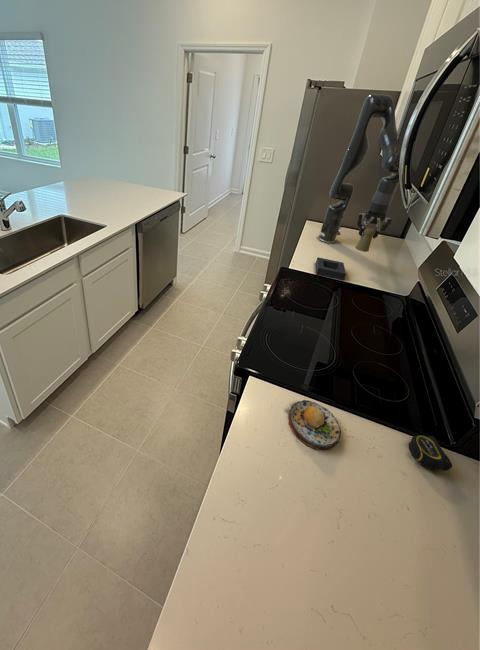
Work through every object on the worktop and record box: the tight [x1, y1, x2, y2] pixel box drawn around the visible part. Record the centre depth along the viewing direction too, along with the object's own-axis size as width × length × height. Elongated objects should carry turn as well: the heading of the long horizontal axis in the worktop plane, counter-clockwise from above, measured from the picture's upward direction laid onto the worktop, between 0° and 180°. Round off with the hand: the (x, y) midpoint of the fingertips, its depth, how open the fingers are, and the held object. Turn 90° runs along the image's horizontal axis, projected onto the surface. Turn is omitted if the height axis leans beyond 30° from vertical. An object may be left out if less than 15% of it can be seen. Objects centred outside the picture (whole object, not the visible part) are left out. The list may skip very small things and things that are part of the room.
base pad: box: [315, 257, 347, 281], centre depth 145 cm, size 12×12×4 cm
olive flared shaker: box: [355, 226, 376, 253], centre depth 145 cm, size 6×6×11 cm
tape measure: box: [408, 434, 453, 471], centre depth 69 cm, size 7×7×4 cm
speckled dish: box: [287, 399, 342, 451], centre depth 72 cm, size 12×12×8 cm
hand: (366, 236), depth 145 cm, fingers closed on olive flared shaker, 5 cm apart
